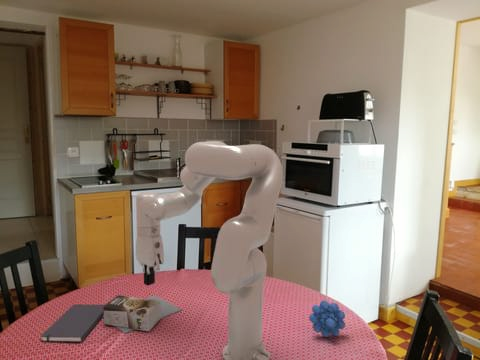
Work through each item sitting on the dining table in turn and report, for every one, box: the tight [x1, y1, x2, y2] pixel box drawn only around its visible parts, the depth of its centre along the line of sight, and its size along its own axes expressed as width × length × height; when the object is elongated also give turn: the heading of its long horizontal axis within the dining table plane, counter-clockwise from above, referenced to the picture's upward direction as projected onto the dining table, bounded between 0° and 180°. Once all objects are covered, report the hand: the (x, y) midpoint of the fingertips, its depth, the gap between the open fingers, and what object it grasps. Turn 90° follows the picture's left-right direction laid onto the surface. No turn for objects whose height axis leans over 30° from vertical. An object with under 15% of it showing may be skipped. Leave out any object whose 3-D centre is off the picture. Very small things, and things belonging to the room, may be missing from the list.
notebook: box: [40, 304, 105, 343], centre depth 128 cm, size 13×2×21 cm
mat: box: [102, 294, 183, 334], centre depth 137 cm, size 16×22×1 cm
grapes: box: [308, 300, 346, 338], centre depth 122 cm, size 12×7×12 cm, turn 96°
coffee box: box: [103, 294, 162, 332], centre depth 130 cm, size 9×6×16 cm
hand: (149, 283), depth 131 cm, fingers closed
